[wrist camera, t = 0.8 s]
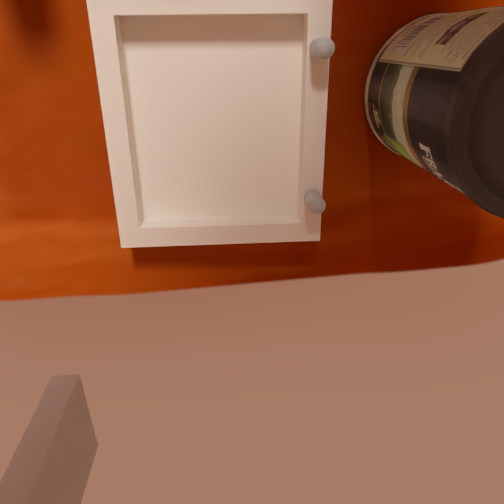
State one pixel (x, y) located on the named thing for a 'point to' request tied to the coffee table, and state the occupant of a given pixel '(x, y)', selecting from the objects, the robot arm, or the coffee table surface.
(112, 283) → the coffee table surface
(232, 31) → the frame
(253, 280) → the coffee table surface
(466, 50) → the coffee can
